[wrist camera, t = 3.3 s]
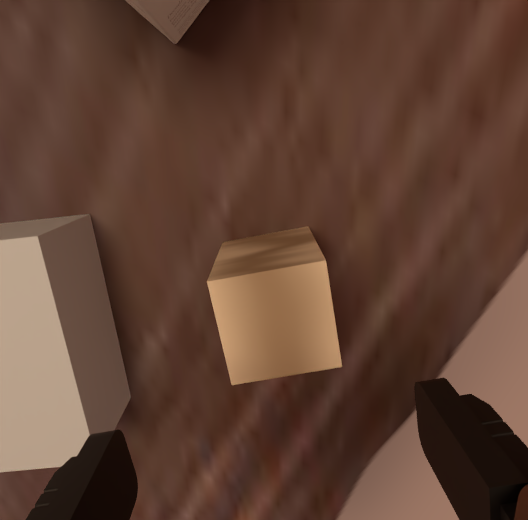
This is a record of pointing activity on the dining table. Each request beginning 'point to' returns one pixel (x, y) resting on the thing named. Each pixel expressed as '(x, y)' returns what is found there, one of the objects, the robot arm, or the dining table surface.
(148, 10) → the supplement box
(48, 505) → the robot arm
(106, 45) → the dining table surface
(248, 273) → the birch block
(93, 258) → the flat white box
